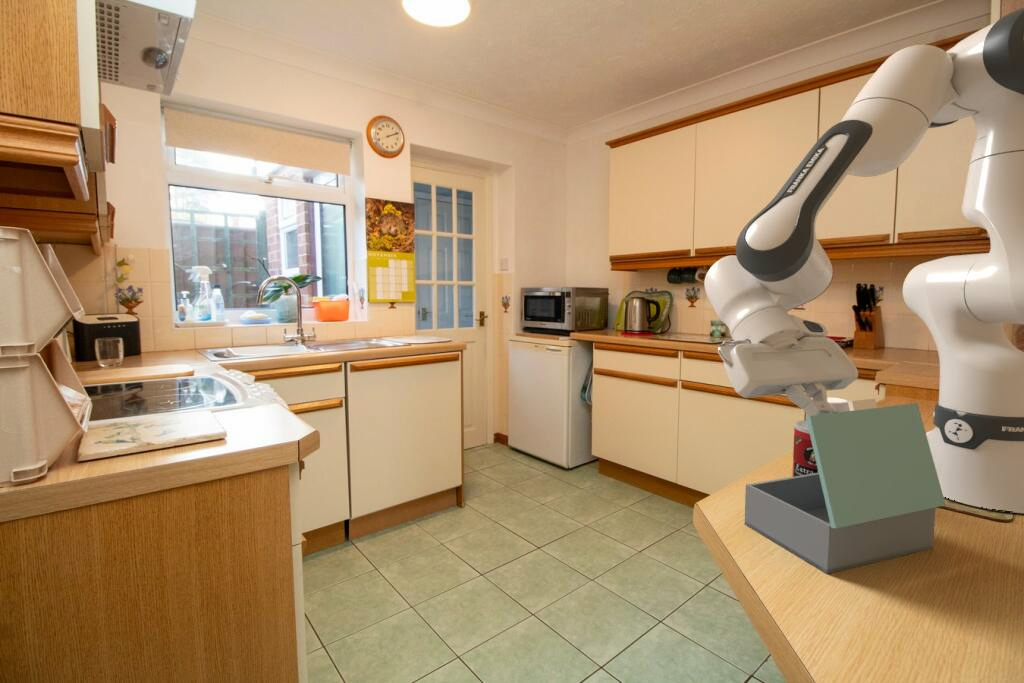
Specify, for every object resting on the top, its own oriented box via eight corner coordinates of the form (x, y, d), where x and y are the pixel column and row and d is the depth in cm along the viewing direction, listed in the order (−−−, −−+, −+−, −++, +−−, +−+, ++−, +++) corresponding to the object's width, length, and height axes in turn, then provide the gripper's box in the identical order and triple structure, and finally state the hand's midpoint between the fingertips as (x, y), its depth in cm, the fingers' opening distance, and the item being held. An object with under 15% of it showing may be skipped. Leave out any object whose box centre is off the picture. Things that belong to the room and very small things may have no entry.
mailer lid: (910, 394, 64) (914, 394, 63) (940, 504, 61) (945, 505, 60) (803, 406, 58) (807, 405, 58) (831, 527, 56) (835, 528, 55)
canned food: (786, 489, 81) (788, 426, 80) (799, 476, 86) (802, 417, 85) (839, 503, 75) (843, 435, 74) (850, 488, 81) (854, 425, 80)
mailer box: (838, 506, 74) (840, 469, 74) (932, 548, 62) (935, 503, 61) (744, 524, 69) (745, 484, 68) (827, 574, 57) (829, 526, 56)
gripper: (724, 328, 69) (776, 409, 61) (831, 324, 75) (892, 397, 67) (702, 355, 74) (748, 433, 66) (805, 349, 80) (859, 420, 71)
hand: (822, 415), depth 66 cm, fingers closed
